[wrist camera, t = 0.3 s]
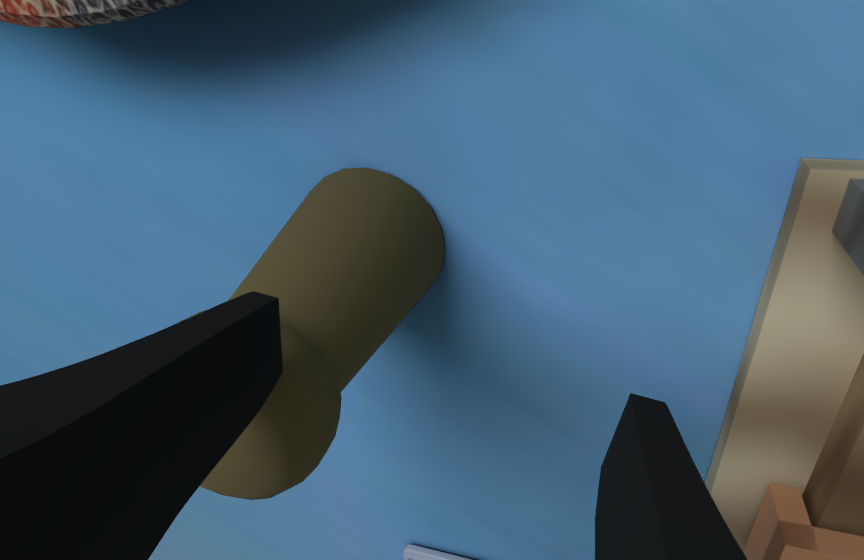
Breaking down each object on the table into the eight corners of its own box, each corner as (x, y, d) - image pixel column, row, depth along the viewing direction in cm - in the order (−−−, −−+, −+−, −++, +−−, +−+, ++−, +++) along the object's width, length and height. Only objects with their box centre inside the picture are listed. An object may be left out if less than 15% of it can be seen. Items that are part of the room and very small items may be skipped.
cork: (466, 207, 20) (340, 433, 11) (419, 324, 24) (294, 566, 15) (316, 141, 20) (77, 310, 12) (291, 267, 24) (95, 470, 15)
